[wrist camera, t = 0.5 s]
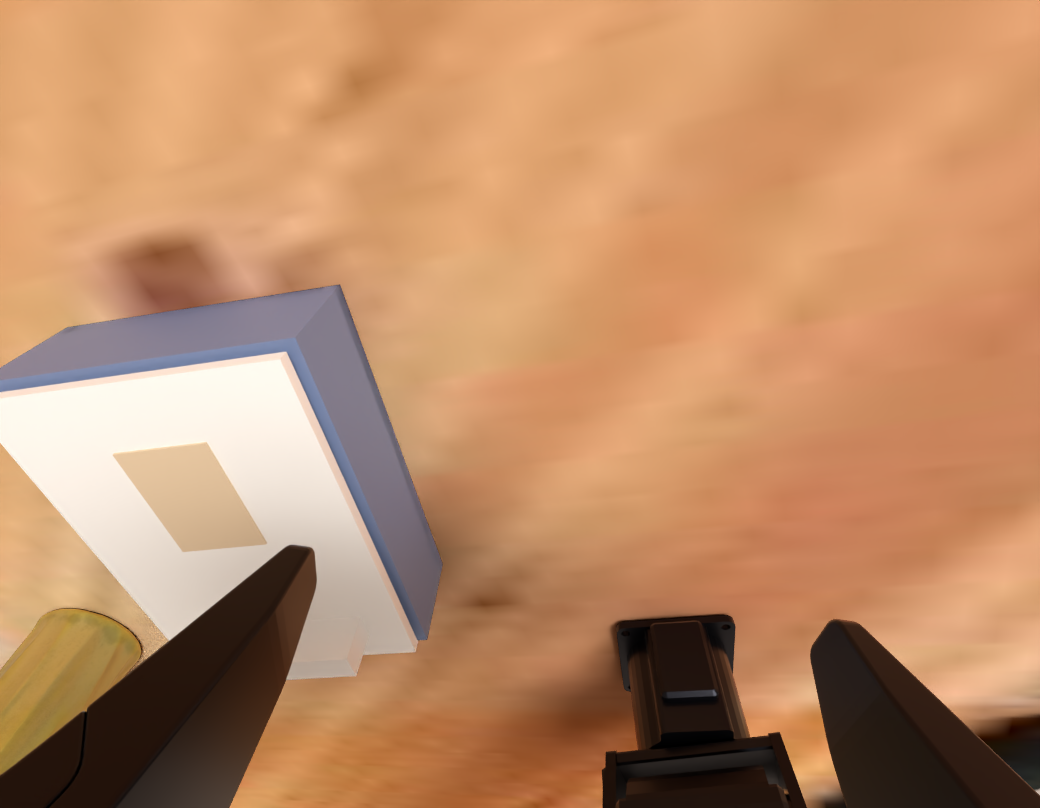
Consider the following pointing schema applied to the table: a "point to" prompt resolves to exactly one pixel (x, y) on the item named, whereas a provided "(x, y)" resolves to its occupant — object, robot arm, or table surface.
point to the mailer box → (327, 384)
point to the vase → (59, 676)
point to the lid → (209, 496)
